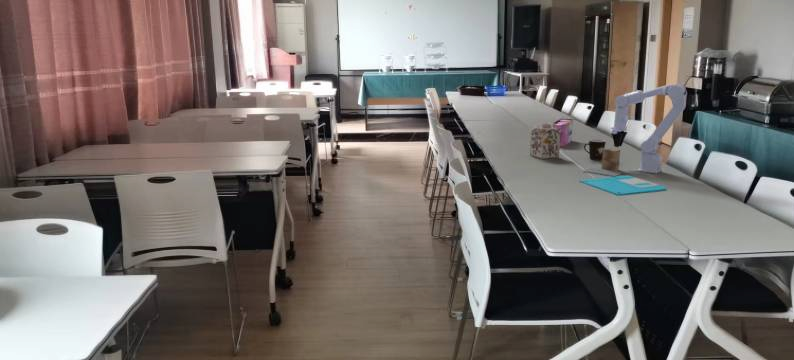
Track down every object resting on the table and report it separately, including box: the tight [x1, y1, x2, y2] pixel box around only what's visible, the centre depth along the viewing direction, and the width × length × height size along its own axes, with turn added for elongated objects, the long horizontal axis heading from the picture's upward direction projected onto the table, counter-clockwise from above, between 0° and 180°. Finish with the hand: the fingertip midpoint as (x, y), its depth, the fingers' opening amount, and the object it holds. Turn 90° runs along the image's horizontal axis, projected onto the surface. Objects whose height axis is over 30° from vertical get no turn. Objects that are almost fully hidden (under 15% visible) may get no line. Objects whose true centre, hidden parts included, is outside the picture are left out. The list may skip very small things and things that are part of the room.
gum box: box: [552, 118, 574, 147], centre depth 374 cm, size 24×8×14 cm, turn 153°
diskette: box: [579, 175, 667, 196], centre depth 274 cm, size 26×28×1 cm
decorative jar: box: [529, 122, 561, 160], centre depth 334 cm, size 12×12×18 cm
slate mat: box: [582, 167, 624, 177], centre depth 299 cm, size 16×10×1 cm, turn 50°
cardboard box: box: [601, 147, 621, 171], centre depth 304 cm, size 7×4×10 cm, turn 50°
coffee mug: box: [583, 138, 607, 161], centre depth 329 cm, size 12×9×10 cm
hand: (617, 146), depth 309 cm, fingers open, 3 cm apart
